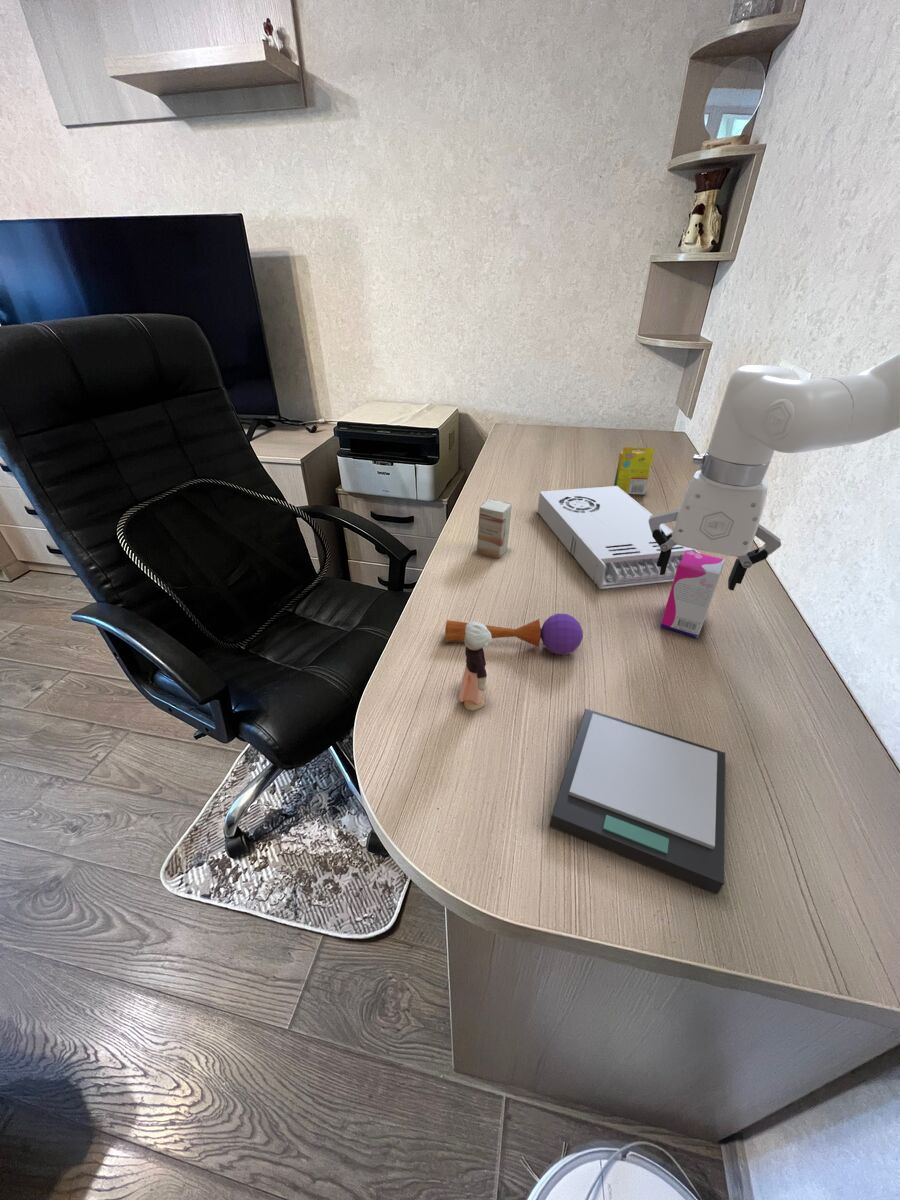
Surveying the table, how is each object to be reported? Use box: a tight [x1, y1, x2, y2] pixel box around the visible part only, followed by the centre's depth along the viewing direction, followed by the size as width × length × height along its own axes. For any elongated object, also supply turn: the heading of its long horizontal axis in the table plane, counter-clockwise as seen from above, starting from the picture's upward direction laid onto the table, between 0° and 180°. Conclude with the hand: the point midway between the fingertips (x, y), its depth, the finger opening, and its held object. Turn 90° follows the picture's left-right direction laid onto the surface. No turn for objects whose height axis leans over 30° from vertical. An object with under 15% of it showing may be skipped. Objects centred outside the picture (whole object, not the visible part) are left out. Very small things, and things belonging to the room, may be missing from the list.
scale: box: [549, 708, 726, 895], centre depth 54 cm, size 16×16×3 cm
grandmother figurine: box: [458, 620, 493, 712], centre depth 63 cm, size 8×4×13 cm, turn 21°
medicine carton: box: [476, 498, 513, 560], centre depth 97 cm, size 5×4×10 cm
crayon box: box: [613, 446, 655, 496], centre depth 122 cm, size 7×3×12 cm, turn 84°
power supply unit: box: [537, 485, 702, 590], centre depth 102 cm, size 19×33×5 cm, turn 11°
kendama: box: [444, 613, 584, 655], centre depth 74 cm, size 6×6×20 cm
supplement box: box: [660, 550, 725, 639], centre depth 77 cm, size 6×6×12 cm
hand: (695, 578), depth 76 cm, fingers open, 9 cm apart
